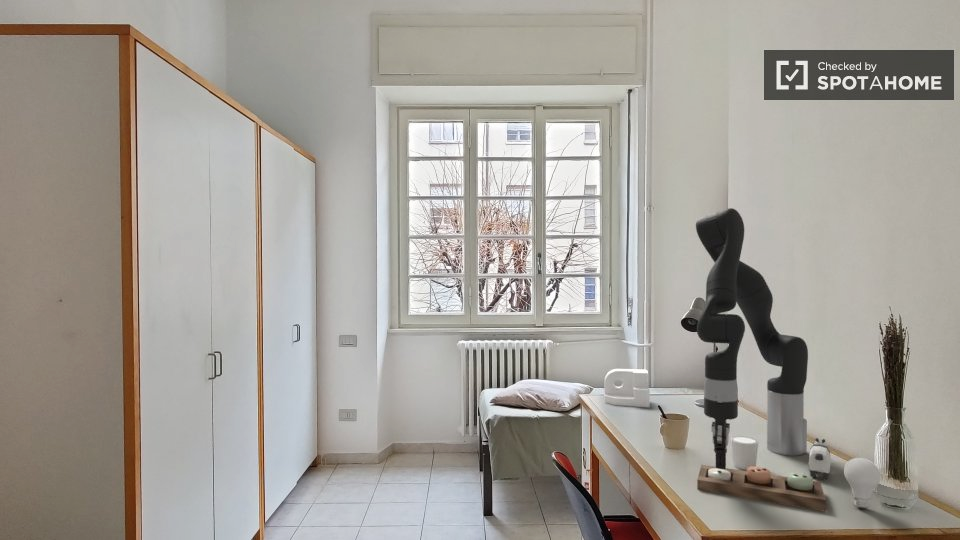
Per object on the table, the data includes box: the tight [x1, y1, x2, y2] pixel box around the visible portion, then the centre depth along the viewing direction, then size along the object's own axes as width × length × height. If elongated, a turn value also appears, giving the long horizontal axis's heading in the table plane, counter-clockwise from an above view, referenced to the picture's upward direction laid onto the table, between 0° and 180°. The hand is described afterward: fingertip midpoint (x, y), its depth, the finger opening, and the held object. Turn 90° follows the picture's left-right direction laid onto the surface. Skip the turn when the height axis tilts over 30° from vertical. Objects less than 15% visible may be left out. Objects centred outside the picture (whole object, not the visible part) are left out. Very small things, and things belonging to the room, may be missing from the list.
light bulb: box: [843, 457, 881, 510], centre depth 123 cm, size 7×7×11 cm
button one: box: [708, 468, 731, 481], centre depth 136 cm, size 5×5×2 cm
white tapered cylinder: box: [729, 435, 759, 471], centre depth 149 cm, size 7×7×7 cm
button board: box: [696, 464, 827, 512], centre depth 133 cm, size 26×11×2 cm, turn 64°
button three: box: [746, 465, 772, 484], centre depth 133 cm, size 5×5×2 cm
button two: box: [787, 471, 814, 490], centre depth 129 cm, size 5×5×2 cm
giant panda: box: [808, 437, 831, 481], centre depth 144 cm, size 12×5×8 cm, turn 147°
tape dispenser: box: [603, 368, 651, 408], centre depth 214 cm, size 16×10×13 cm, turn 79°
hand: (720, 467), depth 136 cm, fingers closed
